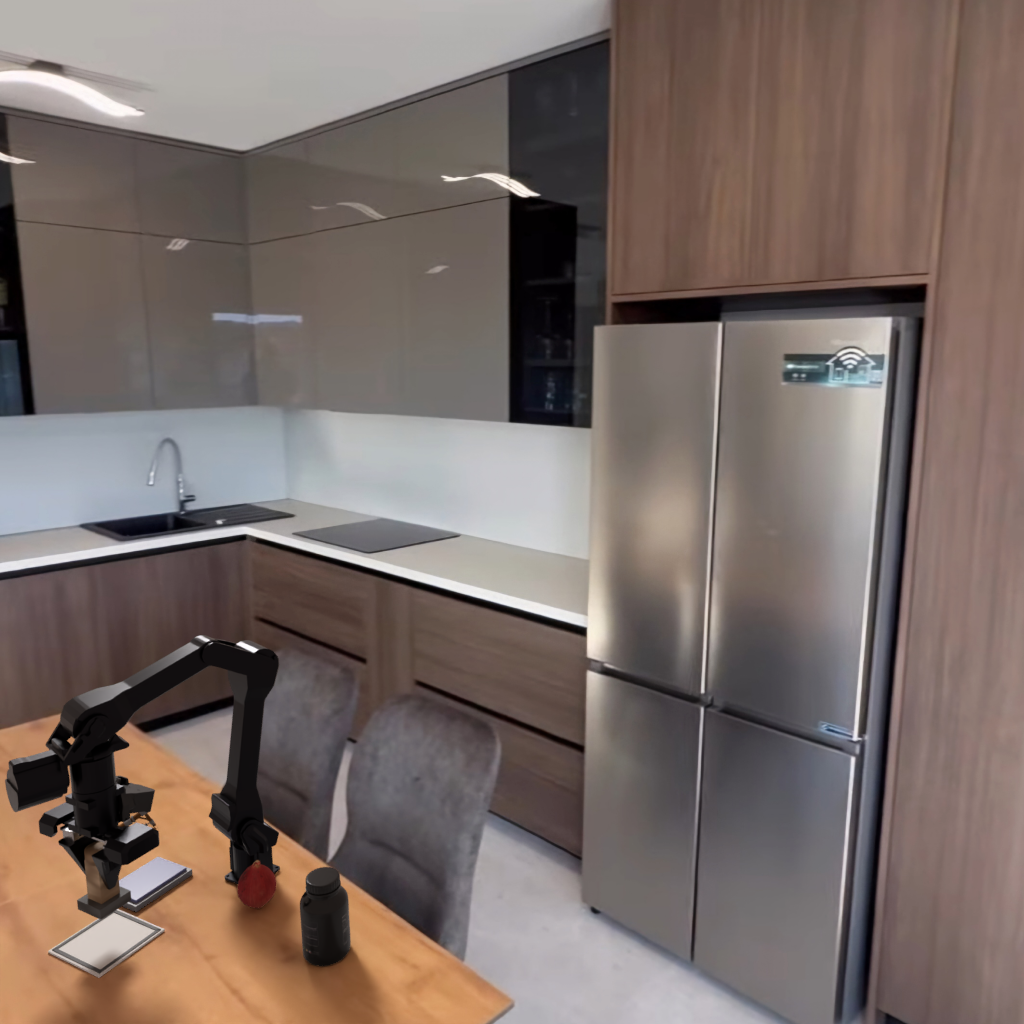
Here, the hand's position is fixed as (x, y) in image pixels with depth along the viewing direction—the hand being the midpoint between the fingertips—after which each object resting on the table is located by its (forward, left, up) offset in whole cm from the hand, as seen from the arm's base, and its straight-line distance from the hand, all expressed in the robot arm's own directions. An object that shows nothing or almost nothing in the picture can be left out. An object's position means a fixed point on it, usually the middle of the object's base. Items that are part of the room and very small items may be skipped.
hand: (103, 884), depth 120 cm
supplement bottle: (-30, -13, -9) cm, 34 cm away
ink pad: (+6, -12, -9) cm, 16 cm away
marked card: (0, 0, -9) cm, 9 cm away
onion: (-14, -16, -9) cm, 23 cm away
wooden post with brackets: (+22, -21, -10) cm, 32 cm away
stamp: (0, 0, -3) cm, 3 cm away
